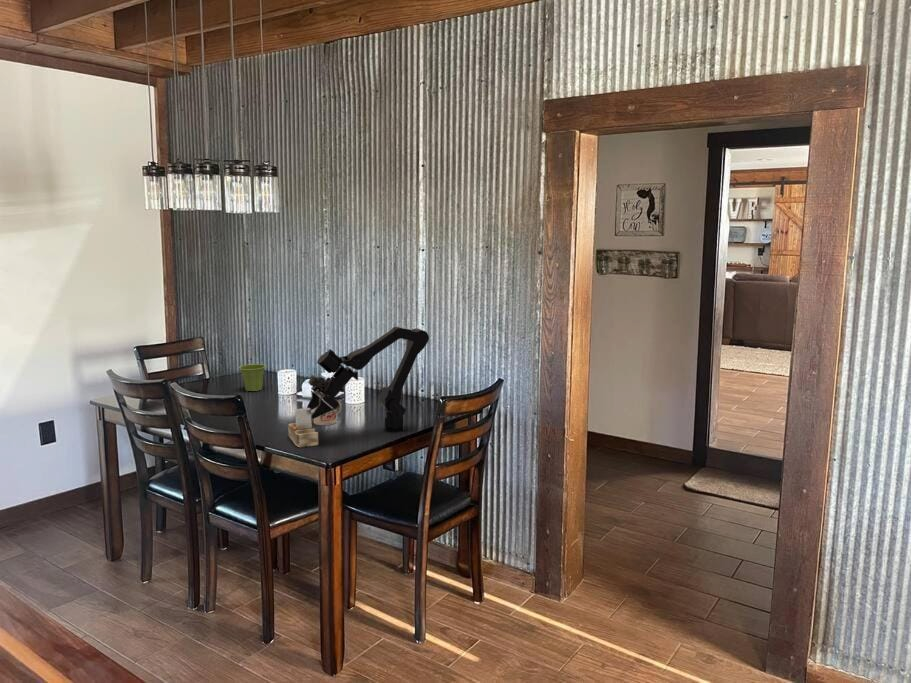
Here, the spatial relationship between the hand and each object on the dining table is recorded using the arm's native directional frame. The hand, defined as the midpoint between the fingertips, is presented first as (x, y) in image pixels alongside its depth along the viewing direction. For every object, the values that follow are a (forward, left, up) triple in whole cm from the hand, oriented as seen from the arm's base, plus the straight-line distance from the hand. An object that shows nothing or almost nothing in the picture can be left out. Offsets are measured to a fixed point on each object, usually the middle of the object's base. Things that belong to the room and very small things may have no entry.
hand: (309, 414), depth 256 cm
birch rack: (+2, +1, -9) cm, 9 cm away
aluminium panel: (+2, +1, -8) cm, 8 cm away
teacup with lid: (-4, -23, -9) cm, 25 cm away
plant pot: (+36, -80, -9) cm, 88 cm away
